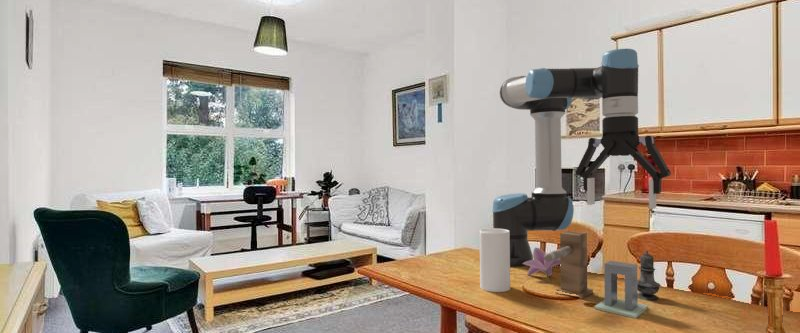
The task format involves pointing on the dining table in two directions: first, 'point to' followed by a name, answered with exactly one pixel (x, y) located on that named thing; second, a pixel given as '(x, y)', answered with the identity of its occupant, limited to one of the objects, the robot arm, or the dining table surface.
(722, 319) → the dining table surface
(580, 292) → the peg stand
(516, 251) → the robot arm
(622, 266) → the grey slotted block
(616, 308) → the mat
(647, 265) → the salt shaker
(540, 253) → the lily
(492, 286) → the cup
